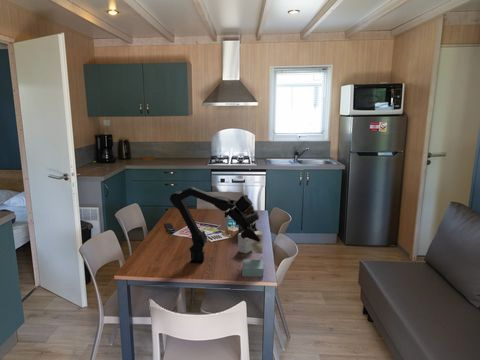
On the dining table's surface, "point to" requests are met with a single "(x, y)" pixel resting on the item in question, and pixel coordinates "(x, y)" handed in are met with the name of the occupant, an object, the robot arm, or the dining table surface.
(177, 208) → the robot arm
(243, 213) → the olive oil
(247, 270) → the base block
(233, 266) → the dining table surface
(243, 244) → the small box
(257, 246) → the cream block
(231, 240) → the dining table surface
